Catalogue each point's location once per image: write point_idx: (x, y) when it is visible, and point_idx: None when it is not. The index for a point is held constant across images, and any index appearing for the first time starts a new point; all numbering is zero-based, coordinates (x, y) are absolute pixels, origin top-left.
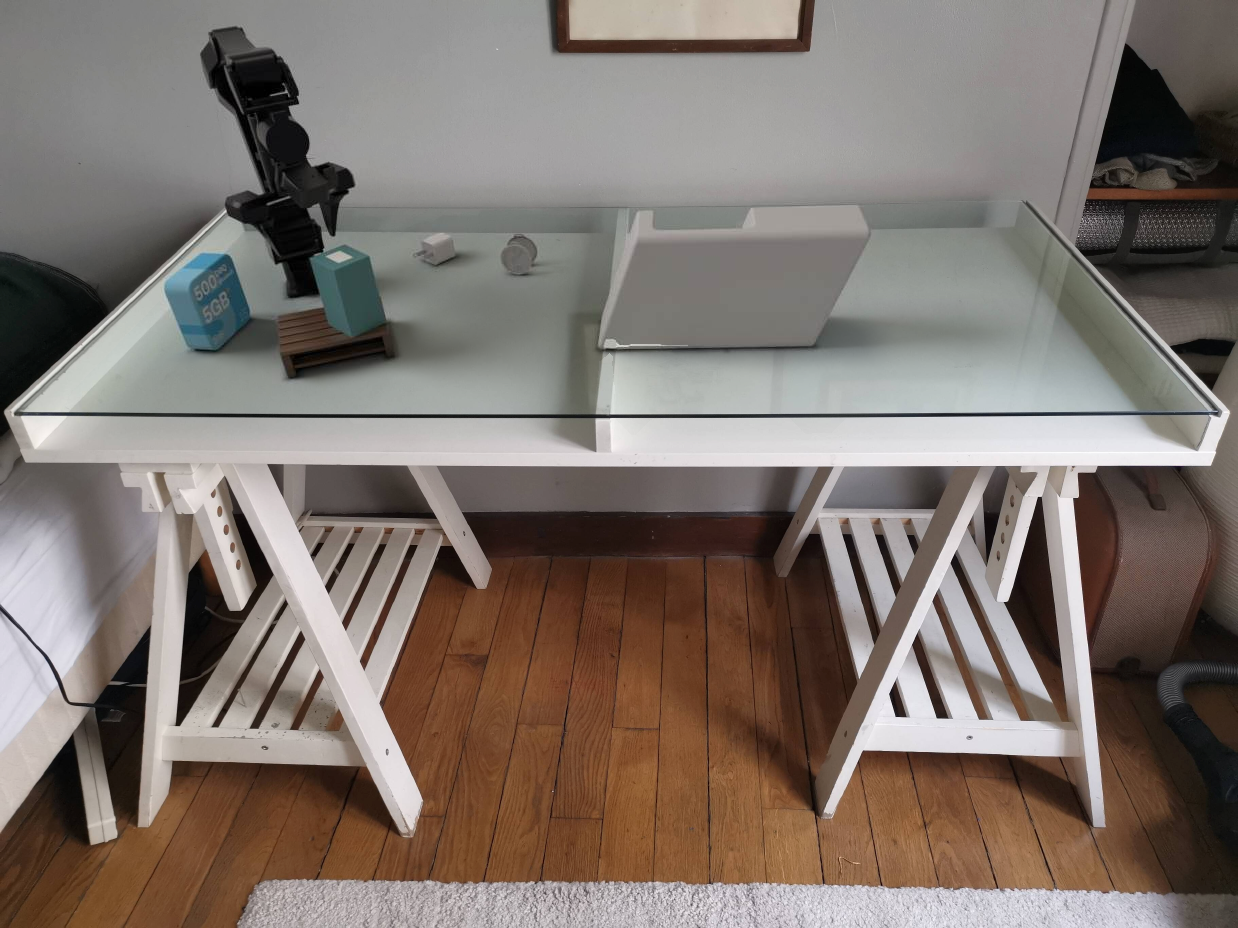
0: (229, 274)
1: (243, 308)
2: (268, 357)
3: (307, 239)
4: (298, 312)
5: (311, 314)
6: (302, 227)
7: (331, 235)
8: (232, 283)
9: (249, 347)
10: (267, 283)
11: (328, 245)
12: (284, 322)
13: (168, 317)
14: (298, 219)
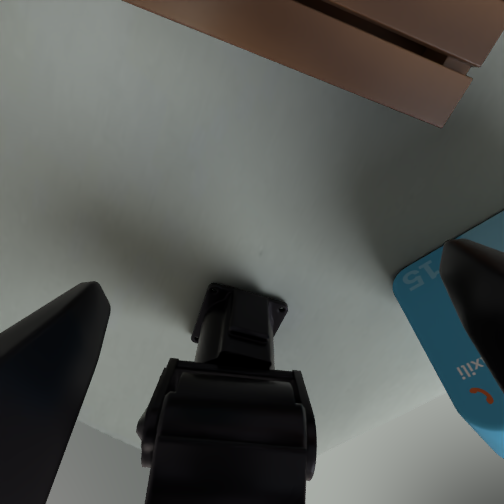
0: (477, 362)
1: (417, 288)
2: (499, 45)
3: (200, 393)
4: (382, 98)
5: (361, 38)
6: (198, 439)
7: (101, 297)
8: (462, 338)
9: (485, 148)
10: None
11: None
12: (465, 51)
13: None
14: (196, 478)
